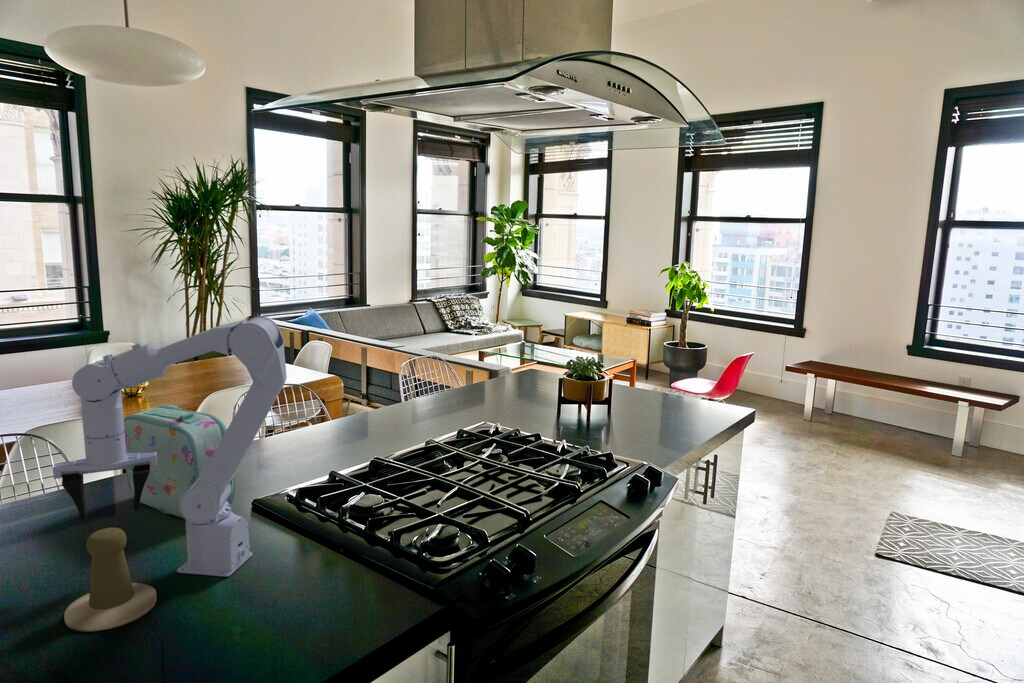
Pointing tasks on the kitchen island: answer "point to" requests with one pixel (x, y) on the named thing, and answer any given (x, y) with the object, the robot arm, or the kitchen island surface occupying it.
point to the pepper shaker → (109, 569)
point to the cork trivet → (110, 611)
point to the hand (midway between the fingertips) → (110, 512)
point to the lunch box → (172, 452)
